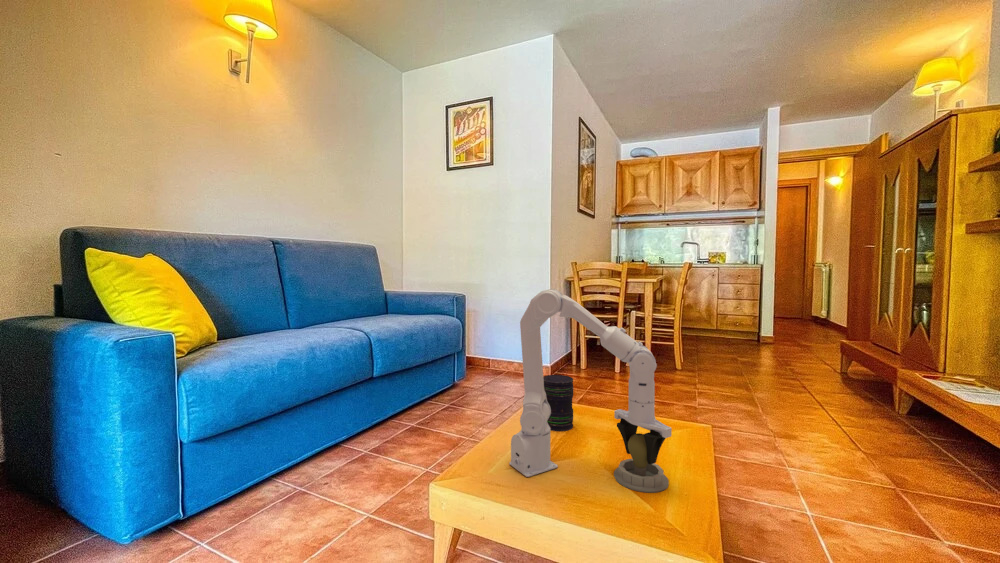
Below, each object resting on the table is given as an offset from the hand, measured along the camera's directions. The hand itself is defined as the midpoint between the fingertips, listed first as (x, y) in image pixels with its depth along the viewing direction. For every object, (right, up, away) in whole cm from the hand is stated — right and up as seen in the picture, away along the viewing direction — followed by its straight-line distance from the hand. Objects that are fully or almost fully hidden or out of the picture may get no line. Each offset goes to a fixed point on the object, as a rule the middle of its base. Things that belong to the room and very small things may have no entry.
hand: (641, 457), depth 93 cm
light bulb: (0, -5, 0) cm, 5 cm away
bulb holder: (0, -5, 0) cm, 5 cm away
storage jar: (-15, -5, +33) cm, 37 cm away
